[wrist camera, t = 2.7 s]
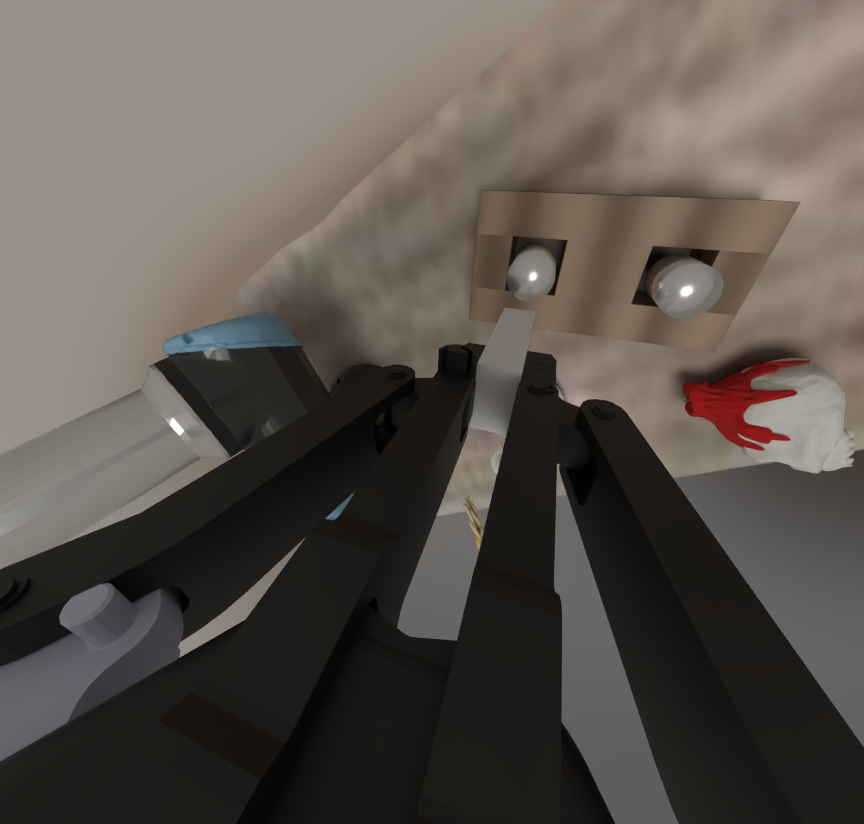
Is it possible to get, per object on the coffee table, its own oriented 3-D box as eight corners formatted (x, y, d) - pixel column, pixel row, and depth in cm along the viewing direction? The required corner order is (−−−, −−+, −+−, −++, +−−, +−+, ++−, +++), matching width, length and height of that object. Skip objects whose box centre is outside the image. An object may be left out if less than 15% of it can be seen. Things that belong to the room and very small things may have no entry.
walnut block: (479, 304, 41) (468, 319, 37) (491, 190, 34) (480, 190, 30) (694, 330, 35) (714, 352, 31) (761, 199, 29) (800, 201, 24)
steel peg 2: (637, 298, 31) (650, 315, 26) (655, 251, 28) (672, 262, 24) (685, 303, 30) (706, 322, 26) (707, 255, 28) (735, 267, 23)
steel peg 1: (510, 284, 34) (503, 298, 29) (517, 241, 31) (510, 250, 27) (550, 289, 33) (549, 304, 28) (560, 244, 30) (560, 254, 26)
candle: (815, 439, 37) (660, 418, 43) (879, 347, 31) (688, 338, 37) (858, 496, 31) (668, 462, 37) (949, 393, 24) (703, 372, 31)
